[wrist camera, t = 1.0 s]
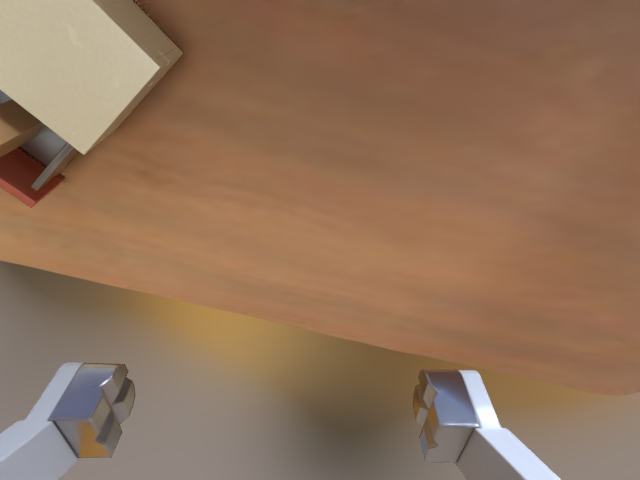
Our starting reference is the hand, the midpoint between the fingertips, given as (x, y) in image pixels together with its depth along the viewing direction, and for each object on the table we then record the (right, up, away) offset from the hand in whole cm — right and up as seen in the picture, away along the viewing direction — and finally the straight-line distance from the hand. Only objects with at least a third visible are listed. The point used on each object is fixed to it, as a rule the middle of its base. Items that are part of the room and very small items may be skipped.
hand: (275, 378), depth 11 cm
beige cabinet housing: (-24, +26, +31) cm, 47 cm away
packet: (-33, +18, +34) cm, 50 cm away
